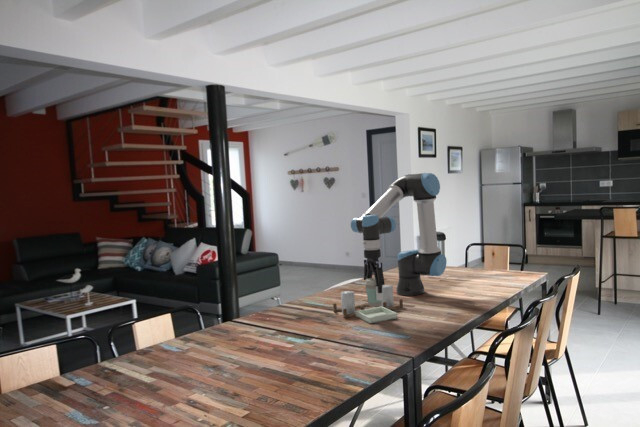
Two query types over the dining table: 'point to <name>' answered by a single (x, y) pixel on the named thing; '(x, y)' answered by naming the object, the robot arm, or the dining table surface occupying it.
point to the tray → (376, 314)
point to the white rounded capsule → (348, 302)
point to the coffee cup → (372, 292)
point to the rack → (363, 308)
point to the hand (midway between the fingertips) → (374, 297)
